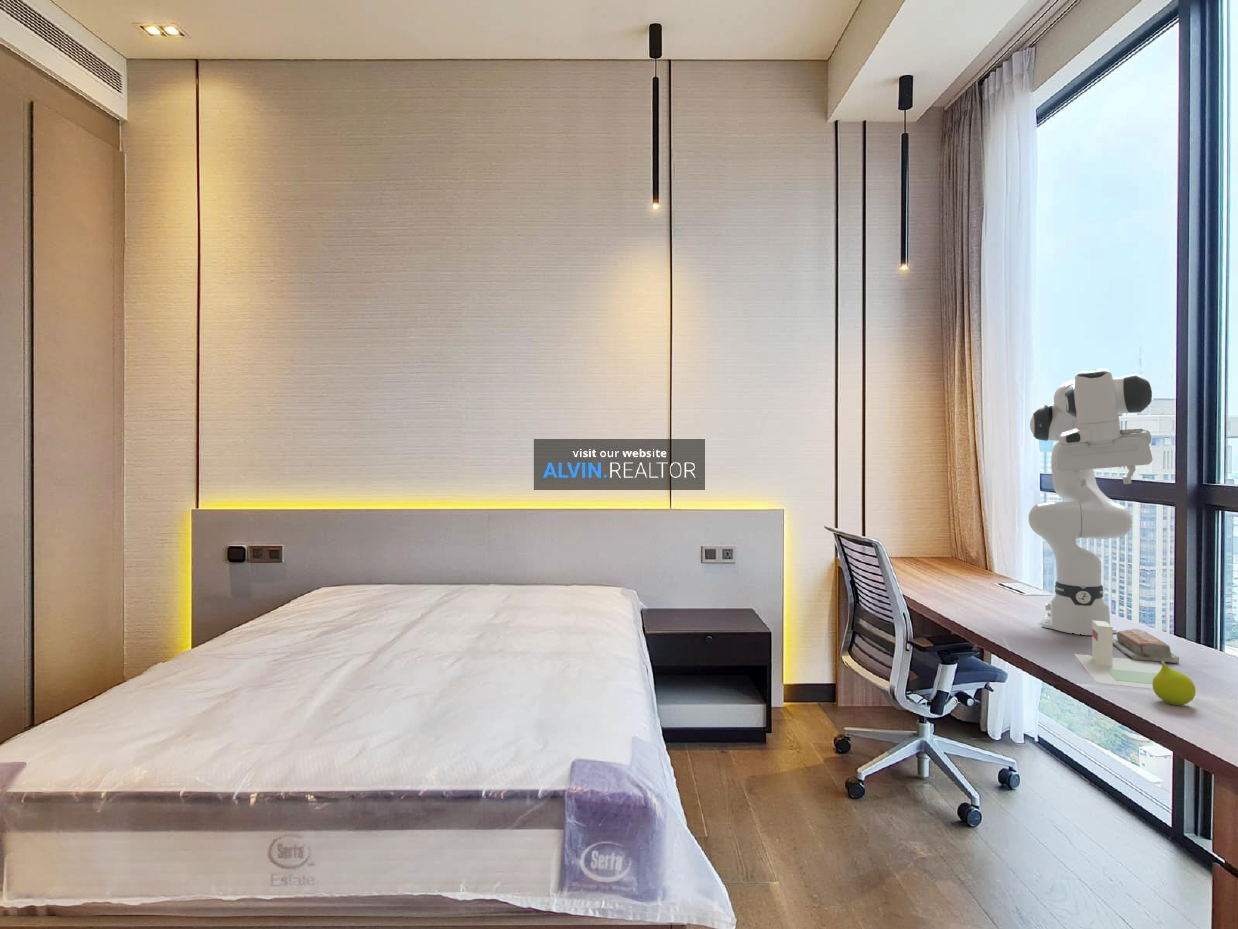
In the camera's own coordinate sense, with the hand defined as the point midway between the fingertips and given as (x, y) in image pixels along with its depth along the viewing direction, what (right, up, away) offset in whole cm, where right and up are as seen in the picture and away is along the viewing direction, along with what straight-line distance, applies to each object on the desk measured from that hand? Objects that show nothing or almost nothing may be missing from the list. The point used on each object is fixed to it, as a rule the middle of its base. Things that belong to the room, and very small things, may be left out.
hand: (1104, 484), depth 171 cm
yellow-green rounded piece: (-7, -46, -29) cm, 55 cm away
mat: (-1, -46, -10) cm, 47 cm away
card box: (-3, -45, -3) cm, 45 cm away
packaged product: (+14, -45, +5) cm, 48 cm away
